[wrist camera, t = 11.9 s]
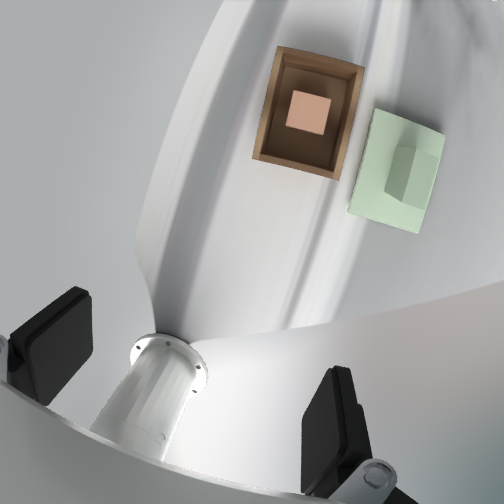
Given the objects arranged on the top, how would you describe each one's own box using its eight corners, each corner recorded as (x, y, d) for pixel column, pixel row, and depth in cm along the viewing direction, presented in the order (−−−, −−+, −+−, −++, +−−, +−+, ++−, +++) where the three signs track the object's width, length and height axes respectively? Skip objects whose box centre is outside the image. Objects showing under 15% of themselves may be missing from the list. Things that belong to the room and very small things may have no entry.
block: (320, 135, 31) (323, 134, 27) (286, 127, 31) (285, 125, 27) (327, 104, 29) (331, 99, 26) (294, 95, 29) (293, 90, 26)
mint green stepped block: (412, 229, 33) (438, 252, 26) (345, 208, 34) (359, 228, 26) (438, 135, 29) (472, 136, 22) (371, 109, 29) (392, 101, 22)
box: (331, 173, 32) (338, 180, 27) (259, 155, 33) (251, 158, 27) (353, 79, 28) (364, 67, 23) (280, 61, 29) (277, 45, 23)
